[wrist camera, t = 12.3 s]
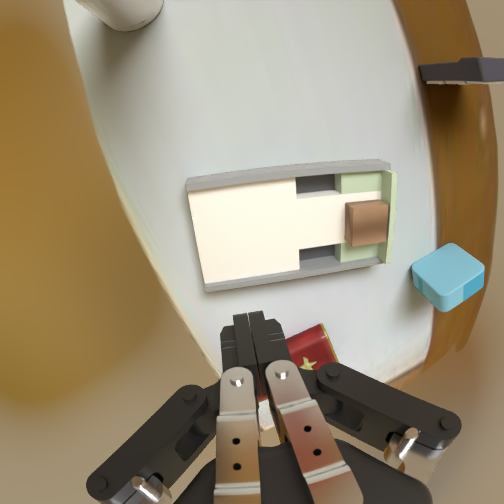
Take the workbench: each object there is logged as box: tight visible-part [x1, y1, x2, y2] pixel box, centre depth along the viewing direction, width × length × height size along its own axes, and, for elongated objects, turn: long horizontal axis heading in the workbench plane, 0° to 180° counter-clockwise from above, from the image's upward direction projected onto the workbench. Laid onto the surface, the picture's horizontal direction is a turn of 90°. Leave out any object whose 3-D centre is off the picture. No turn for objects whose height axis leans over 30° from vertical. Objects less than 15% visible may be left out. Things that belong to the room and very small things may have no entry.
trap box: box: [185, 159, 397, 292], centre depth 45 cm, size 17×30×6 cm, turn 96°
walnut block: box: [344, 199, 388, 247], centre depth 44 cm, size 6×6×3 cm
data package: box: [412, 243, 484, 312], centre depth 50 cm, size 12×4×12 cm, turn 114°
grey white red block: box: [419, 57, 504, 85], centre depth 32 cm, size 11×4×15 cm, turn 108°
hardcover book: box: [258, 323, 339, 402], centre depth 60 cm, size 12×21×4 cm, turn 114°
